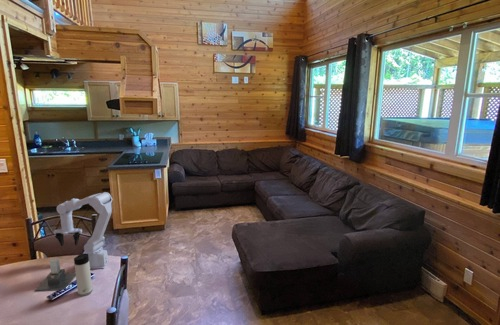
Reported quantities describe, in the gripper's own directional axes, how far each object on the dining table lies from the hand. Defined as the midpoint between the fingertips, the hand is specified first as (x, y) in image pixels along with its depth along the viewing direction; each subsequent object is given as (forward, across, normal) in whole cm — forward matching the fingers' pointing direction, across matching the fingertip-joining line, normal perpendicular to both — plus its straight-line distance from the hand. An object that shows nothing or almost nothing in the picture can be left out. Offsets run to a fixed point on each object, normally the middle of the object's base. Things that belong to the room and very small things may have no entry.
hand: (69, 244), depth 175 cm
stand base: (+10, +2, -21) cm, 23 cm away
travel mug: (+11, +20, -31) cm, 38 cm away
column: (+8, +2, -21) cm, 22 cm away
